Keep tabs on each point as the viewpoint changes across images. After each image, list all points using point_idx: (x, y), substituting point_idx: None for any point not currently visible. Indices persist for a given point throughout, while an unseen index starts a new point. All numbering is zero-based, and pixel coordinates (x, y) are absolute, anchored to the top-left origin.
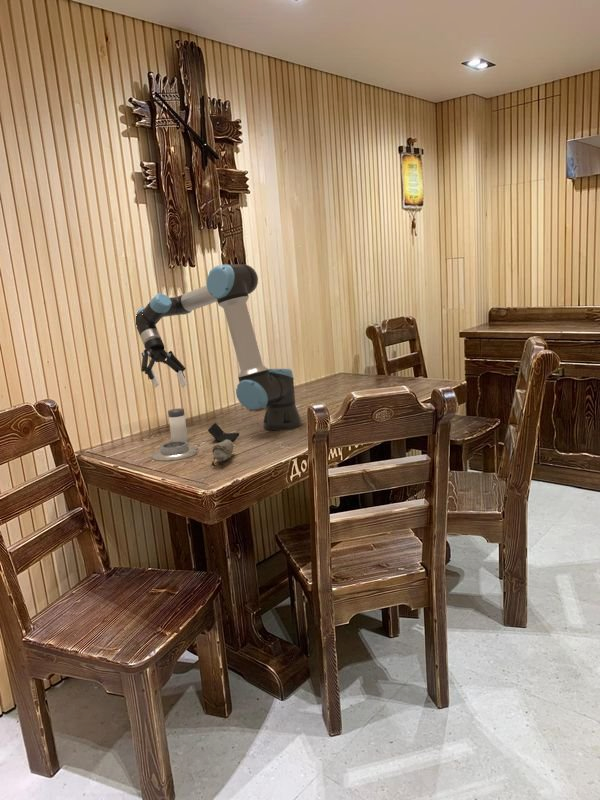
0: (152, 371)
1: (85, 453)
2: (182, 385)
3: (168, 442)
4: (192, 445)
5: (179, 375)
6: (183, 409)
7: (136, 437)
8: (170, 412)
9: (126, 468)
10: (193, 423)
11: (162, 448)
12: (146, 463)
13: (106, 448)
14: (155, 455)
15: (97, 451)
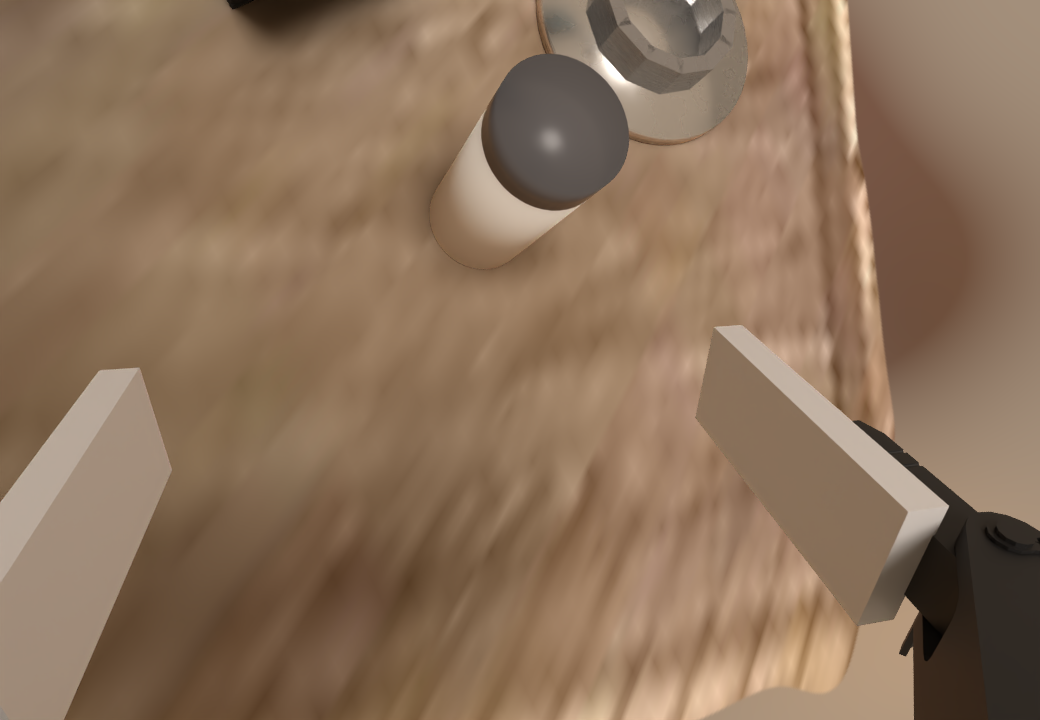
0: (914, 486)
1: None
2: (156, 457)
3: (668, 64)
4: (542, 7)
5: (59, 602)
6: (517, 68)
7: (574, 602)
8: (624, 122)
9: (847, 96)
10: None
11: (735, 16)
12: (778, 64)
13: None
14: (733, 73)
15: None
